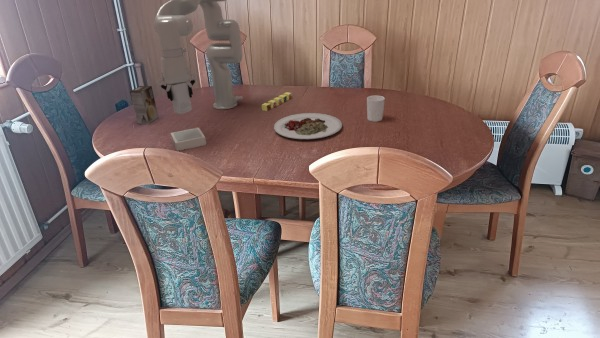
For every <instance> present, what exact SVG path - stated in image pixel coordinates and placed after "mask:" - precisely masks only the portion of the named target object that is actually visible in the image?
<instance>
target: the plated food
mask: <svg viewBox="0 0 600 338" xmlns="http://www.w3.org/2000/svg"><path fill="white" fill-rule="evenodd" d="M342 123H343V122H342V121H341V120H340V119H339V118H338V117H335V116H333V115H330V114H325V113H318V112H306V113H305V112H302V113H296V114H291V115H287V116H285V117H283V118H280V119H278V120H277V121H276V122H275V123H274V125H273V130H274V131H275V132H276V133H277V135H280V136H282V137H285V138H289V139H296V140H315V139H323V138H325V137H326V138H327V137H329V136H332V135H334V134H336V133H338V132H339V131H340V130H341V129H342V127H343V124H342Z"/></svg>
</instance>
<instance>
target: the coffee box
mask: <svg viewBox="0 0 600 338" xmlns="http://www.w3.org/2000/svg"><path fill="white" fill-rule="evenodd" d="M129 94H130V98H131V102H132V105H133V110H134V113H135V117H136V121H137V124H139V125H149V124H151V123H153V122H154V121H155V120H157V119H158V118H159V114H158V113H159V112H158V108H157V103H156V100H155V96H154V91H153V87H152V85H139V86H137V87H135V88H134V89H132V90H130V91H129Z"/></svg>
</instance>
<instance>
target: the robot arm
mask: <svg viewBox="0 0 600 338" xmlns="http://www.w3.org/2000/svg"><path fill="white" fill-rule="evenodd" d="M226 1H227V0H168V1H167V2H165V3H164V4H163V5H161V6H160V7H159V9H158V11H157V13H156V15H155V17H154V21H153V26H154V30H155V32H156V33H157V37H158V41H159V45H160V51H161V55H162V57H160V68H161V69H160V70H161V75H160V76H159V77H158V79H157V80H156V81H155V83H156V85H157V86H159V87H160V88H161V89H163V90H164V91H165V92H166V96H167V99H168V100H169V101H170V102H172V101H173V99H172V94H171V91H170V86H171V84H177V83H183V82H186V83H187V84H188V90H189V95H190V98H193V97H192V96H193V95H194V93H193V85H194V84H195V83H196V81H197V79H198V77H199V76H198V75H197V74H196V73H194V72H193V71H190V69H189V68H190V67H189V63H188V61H187V58H186V55H185V54H184V53H187V49H186V48H185V47H184V48H183V47H182V41H181V37H184V36H188V35H190V34H191V33H192V31H193V26H194V25H193V22H192V19H191V18H190V17H188V16H187V15H190V14H192V13H194V12H196V11H197V9H198V7H199V5H200V8H201V10H202V13H203V19H204V24H205V25H204V26H205V30H206V31H205V33H206V36H207V39H209V40H210V41H212V42H213V41H214V42H215V41H216V42H215V43H211V44H209V45H208V46H207V47H206V50H205V53H206V54H205V55H206V58H207V61H208V64H209V68H210V73H211V79H212V87H213V93H214V99H215V100H214V101H215V102H214V103H212V107H213V108H214V109H216V110H229V109H233V108H236V107H237V106H238V101H243V100H244V97H243V96H242V95H241V96H239V95H236V96H235V95H234V90H233V82H232V73H231V70H230V68H229V66H228V65H227V64H239V63H241V62H242V61H243V46H242V38H241V28H240V25H239V23H238V22H237V20H235V19H225V18H224V17H223V11H222V8H221V5H220V4H219V2H226ZM217 41H218V43H217ZM220 41H221V42H220ZM223 41H225V42H223ZM226 41H228V42H229V43H227V42H226ZM191 77H192V78H191ZM162 81H163V82H164V83H165V85H164V84H163V83H162Z"/></svg>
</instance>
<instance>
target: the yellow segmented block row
mask: <svg viewBox="0 0 600 338" xmlns="http://www.w3.org/2000/svg"><path fill="white" fill-rule="evenodd" d="M292 99H293V92H287V91H286V92H284V93H283V94H281V95H278V97H277V96H276V97H274V98H273V99H270V100H268V101H267V102H264V103H263V104H261V110H262V111H264V112H268V111H270V110H272V109H274V108H276V107H277V106H280V105H282V104H283V103H285V102H288V100H292Z"/></svg>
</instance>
